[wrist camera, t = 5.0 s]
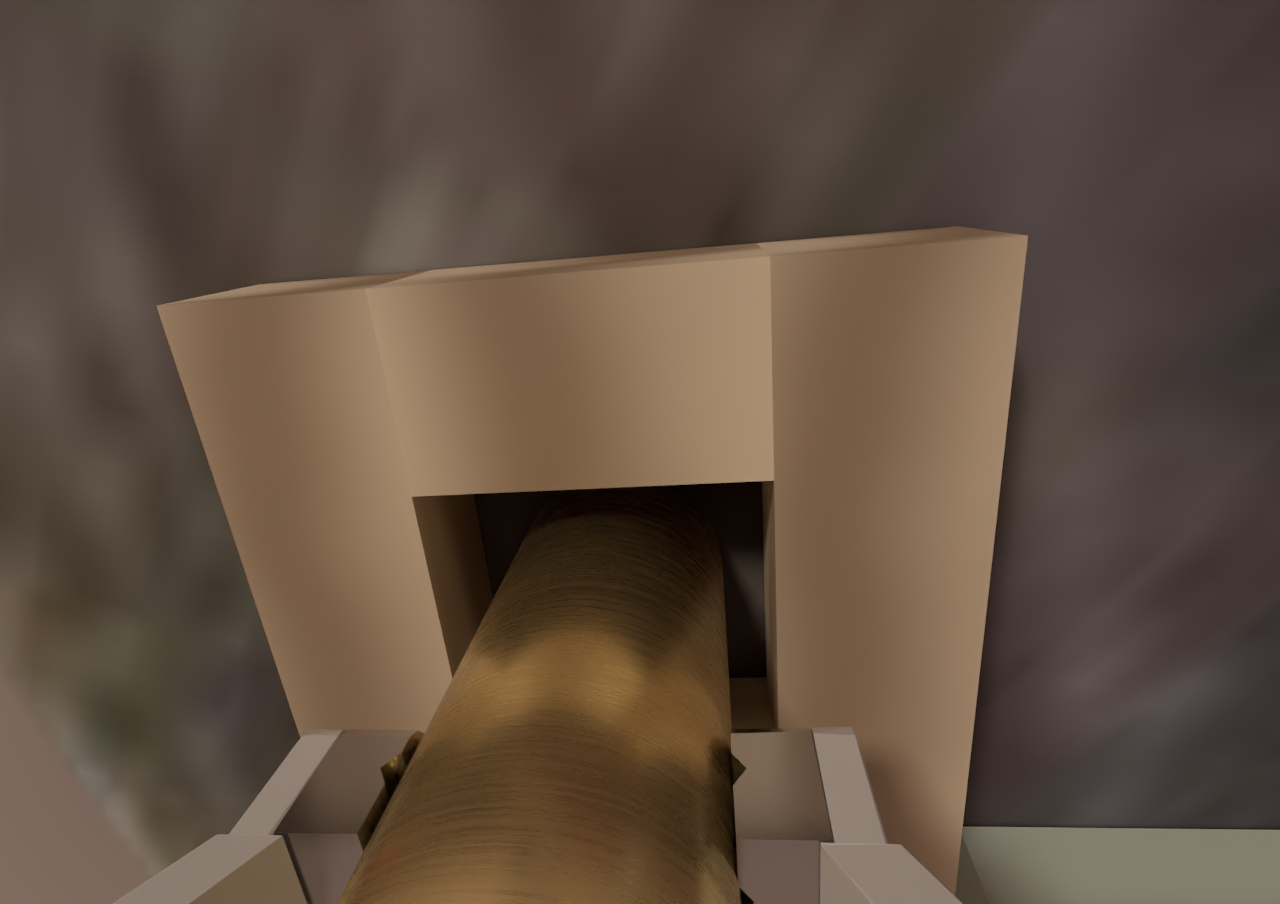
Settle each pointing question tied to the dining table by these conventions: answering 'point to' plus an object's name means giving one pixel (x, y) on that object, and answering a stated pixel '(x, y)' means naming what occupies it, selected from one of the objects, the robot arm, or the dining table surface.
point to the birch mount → (634, 467)
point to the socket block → (1118, 866)
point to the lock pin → (578, 726)
